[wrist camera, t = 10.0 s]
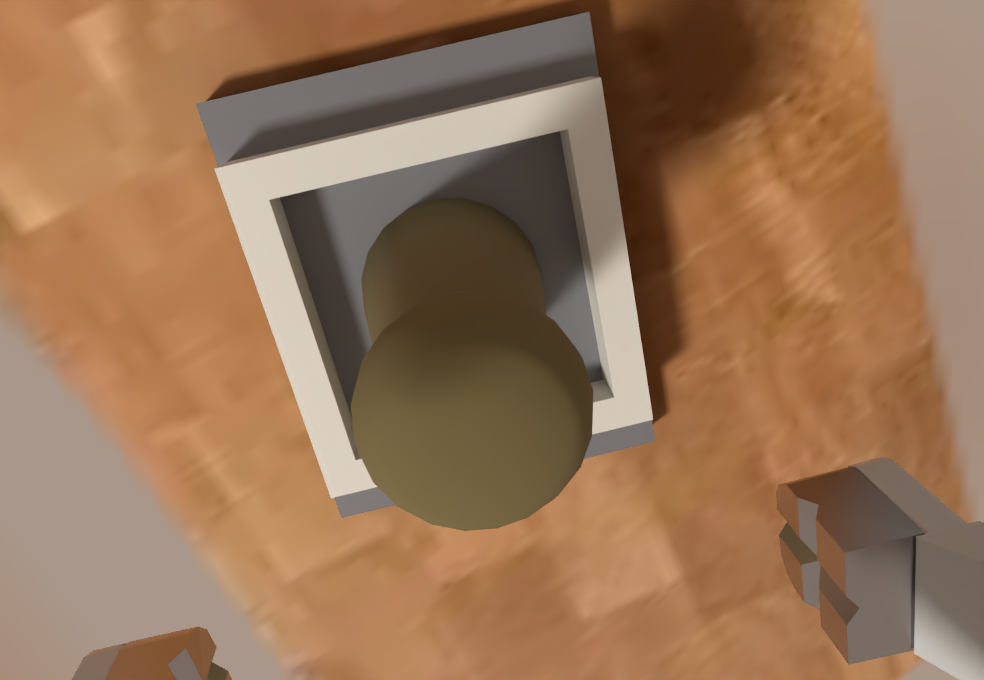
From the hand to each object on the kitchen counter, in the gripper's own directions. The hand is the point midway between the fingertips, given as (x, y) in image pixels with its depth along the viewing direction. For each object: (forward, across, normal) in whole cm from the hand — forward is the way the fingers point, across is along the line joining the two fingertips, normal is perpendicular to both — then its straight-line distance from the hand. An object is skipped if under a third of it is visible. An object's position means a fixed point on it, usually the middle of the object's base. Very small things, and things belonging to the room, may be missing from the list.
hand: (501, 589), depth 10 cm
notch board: (+16, 0, +1) cm, 16 cm away
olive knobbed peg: (+15, 0, 0) cm, 15 cm away
